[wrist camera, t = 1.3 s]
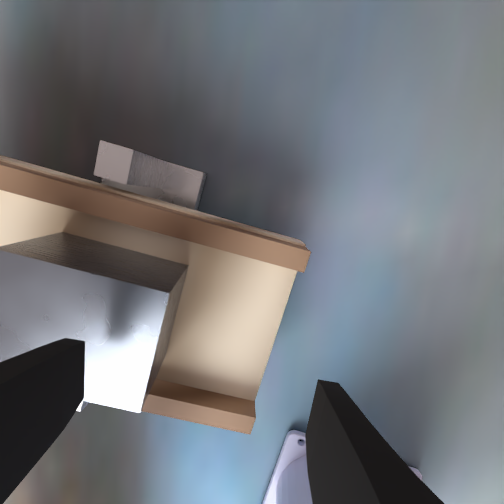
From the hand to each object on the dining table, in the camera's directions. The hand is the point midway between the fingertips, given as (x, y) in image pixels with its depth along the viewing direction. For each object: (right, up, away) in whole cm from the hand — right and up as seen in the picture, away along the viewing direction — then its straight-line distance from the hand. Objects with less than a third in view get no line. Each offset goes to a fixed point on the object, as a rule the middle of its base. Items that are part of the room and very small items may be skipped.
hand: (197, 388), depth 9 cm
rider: (-5, +2, +6) cm, 8 cm away
